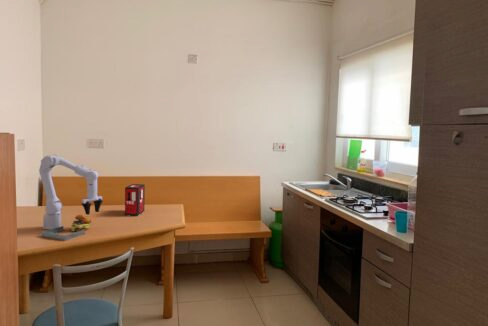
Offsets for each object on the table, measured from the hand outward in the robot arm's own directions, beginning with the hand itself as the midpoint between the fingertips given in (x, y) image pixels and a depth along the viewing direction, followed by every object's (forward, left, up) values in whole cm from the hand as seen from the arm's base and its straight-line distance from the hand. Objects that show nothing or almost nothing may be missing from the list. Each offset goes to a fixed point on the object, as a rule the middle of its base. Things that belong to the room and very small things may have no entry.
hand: (92, 213), depth 226 cm
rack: (-4, -17, -10) cm, 20 cm away
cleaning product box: (-2, +45, -10) cm, 46 cm away
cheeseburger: (-4, -4, -10) cm, 12 cm away
